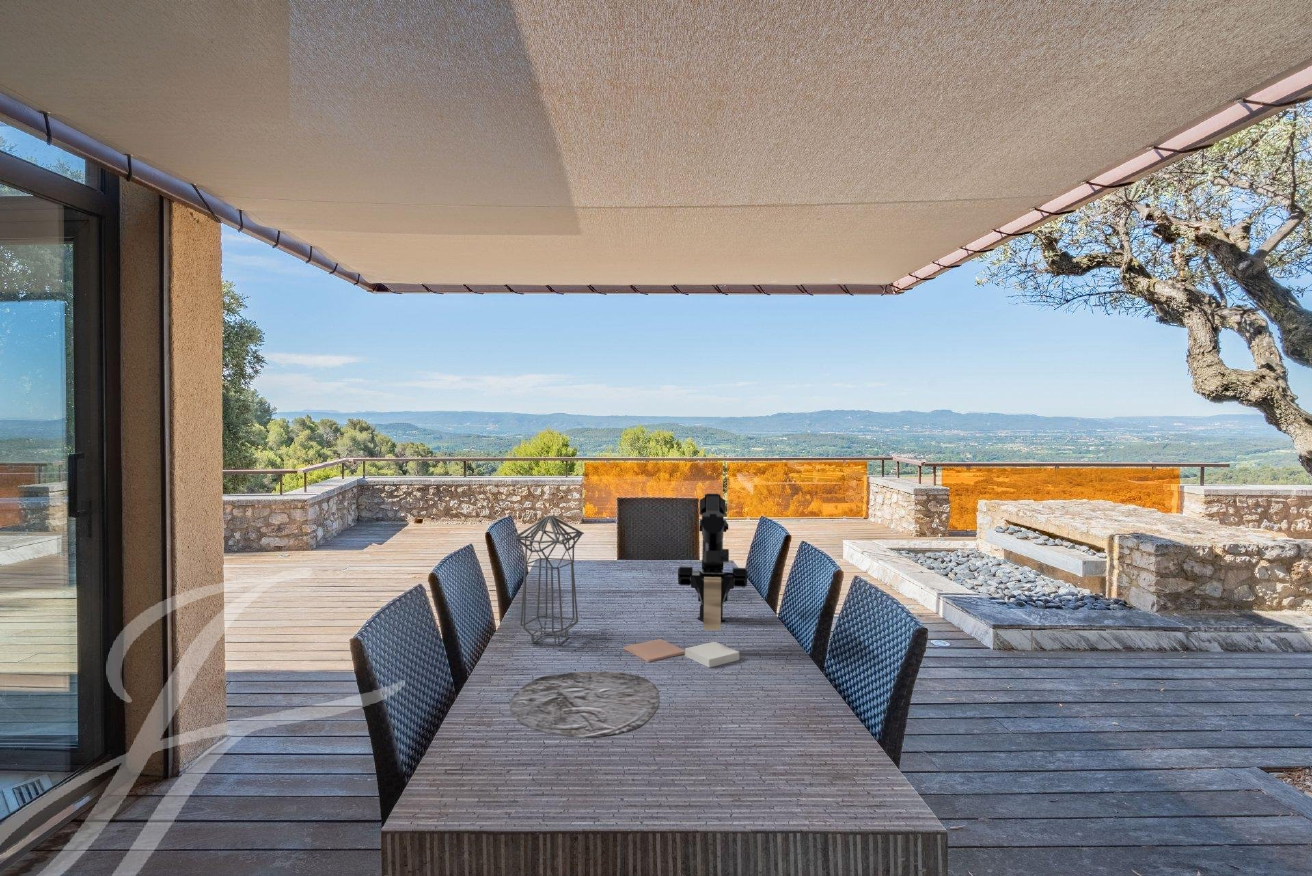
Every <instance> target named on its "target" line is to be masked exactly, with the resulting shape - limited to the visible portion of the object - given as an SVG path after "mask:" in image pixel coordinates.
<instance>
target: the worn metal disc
mask: <svg viewBox="0 0 1312 876" xmlns="http://www.w3.org/2000/svg"><path fill="white" fill-rule="evenodd" d="M659 706H660V695H659V690H658V688H657V686H656V685H655V684H654V683H653V682H652V681H650V680H649V679H647V678H645V677H643V676H640V675H636V674H632V673H628V672H627V673H626V672H618V671H607V670H606V671H604V670H603V671H602V670H601V671H600V670H598V671H597V670H596V671H595V670H593V671H574V672H573V671H572V672H567V673H560V674H550V675H545V676H544V675H543V676H540V677H538V678H535V679H534V680H532V681H530V682H528V683H527V684H525V685H523V686H522V687H521V688H520V689H518V690H516V692H515V693H514V694H513V696H512V698H511V699H510V700H509V713H510V714H511V715H512V718H514V719H515V720H516V721H517V722H519V724H521V725H522V726H524V727H526V728H529V729H531V730H534V731H537V732H541V733H544V734H545V735H546V734H547V735H558V736H562V737H566V738H575V739H576V738H578V739H579V738H580V739H581V738H582V739H596V738H598V739H600V738H605V737H606V738H607V737H613V736H617V735H621V734H627V733H630V732H632V731H635V730H637V729H641V728H642V727H643V726H645V724H646V723H648V722H649V721H650V719H652V717H653V716H654V715H655V713H656V712H657V710H658V709H659Z"/></svg>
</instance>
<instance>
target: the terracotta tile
mask: <svg viewBox="0 0 1312 876" xmlns="http://www.w3.org/2000/svg"><path fill="white" fill-rule="evenodd" d="M623 650H625V651H627V653H628V652H629V653H631V654H632V655H634V656H636V657H638V658H640V659H641V660H643V661H645V662H648V663H650V662H655V661H660V660H662V659H668V658H671V657H676V656H680V655H685V649H683V648H681V647H678V646H677V645H674V644H673V643H670V642H668V641H666V640H663V639H661V638H658V639H652V640H648V641H644V642H639V643H635V644H634V643H633V644H631V645H630V644H629V645H625V646H624V645H623Z"/></svg>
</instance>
